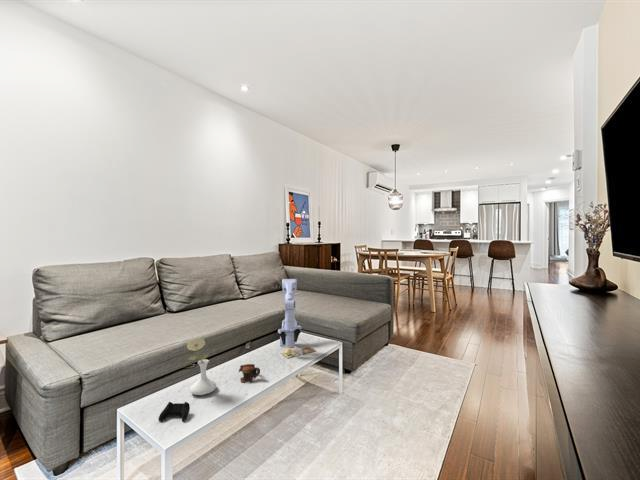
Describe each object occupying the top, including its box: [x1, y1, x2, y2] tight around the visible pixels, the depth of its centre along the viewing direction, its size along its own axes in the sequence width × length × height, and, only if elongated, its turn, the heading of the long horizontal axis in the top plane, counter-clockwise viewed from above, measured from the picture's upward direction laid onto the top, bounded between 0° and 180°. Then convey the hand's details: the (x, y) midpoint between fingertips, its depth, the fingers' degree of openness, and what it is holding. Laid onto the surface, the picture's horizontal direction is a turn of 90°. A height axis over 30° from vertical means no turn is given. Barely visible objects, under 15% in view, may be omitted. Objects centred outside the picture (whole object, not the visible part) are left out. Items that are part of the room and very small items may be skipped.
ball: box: [284, 348, 293, 356], centre depth 180 cm, size 4×4×4 cm
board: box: [280, 345, 317, 360], centre depth 184 cm, size 20×9×4 cm, turn 124°
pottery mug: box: [238, 363, 261, 383], centre depth 153 cm, size 12×10×8 cm
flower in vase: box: [186, 337, 217, 396], centre depth 140 cm, size 13×11×25 cm
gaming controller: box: [158, 401, 191, 422], centre depth 121 cm, size 11×4×7 cm
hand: (289, 343), depth 180 cm, fingers open, 7 cm apart
